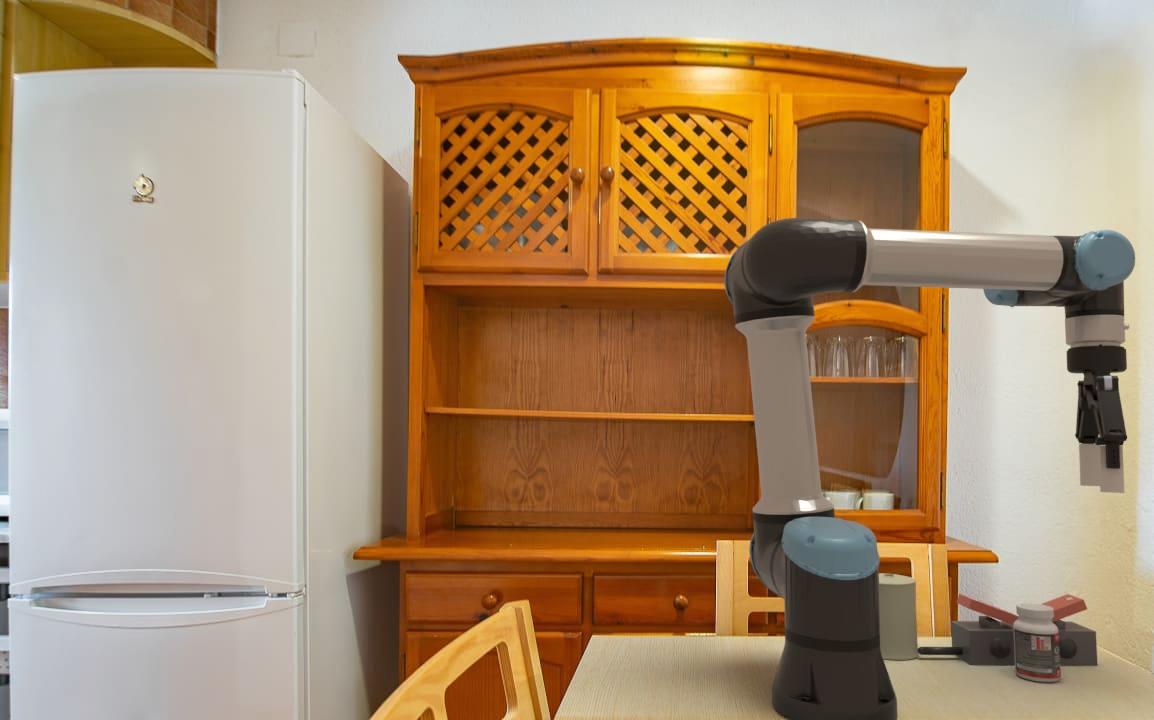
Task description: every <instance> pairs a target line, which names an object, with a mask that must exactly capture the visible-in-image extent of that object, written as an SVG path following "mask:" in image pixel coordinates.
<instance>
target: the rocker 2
mask: <svg viewBox="0 0 1154 720" xmlns="http://www.w3.org/2000/svg"><path fill="white" fill-rule="evenodd" d="M1041 604H1042V605H1047V606H1050V607H1052V608H1053V611H1054V617H1053V618H1052V622H1054V621H1057V620H1062V619H1064V618H1067V617H1070V616H1072V615H1075V614H1078V613H1081V612H1084V611H1086V610H1088V607H1087V605H1086V602H1085V600H1084V599H1082V598H1080V597H1077V596H1074V595H1071V594H1069V593H1067V594H1064V595H1061V596H1059V597H1056V598H1053V599H1051V600H1048V601H1045V602H1042V603H1041Z"/></svg>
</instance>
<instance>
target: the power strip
mask: <svg viewBox="0 0 1154 720" xmlns="http://www.w3.org/2000/svg"><path fill="white" fill-rule="evenodd" d="M1052 623H1054V624H1055V625H1056V626H1057V628H1058V632H1059V652H1060V666H1098V645H1097V644H1098V643H1097V631H1096V630H1094V629H1091V628H1088V627H1086V626H1083V625H1082V624H1078V623H1077V622H1074V621H1066V620H1065V621H1064V620H1062V619H1060V620H1057V621H1054V622H1052ZM950 627H951V646H918V653H919V655H922V656H956V657H957V658H958V659H960V658H961V660H962V661H964V662H965V663H967V664H968V665H970V666H1015V659H1014V635H1013V625H1011V624H1009V623H1006V622H1003V621H1001V620H998V619H995V618H992V617H990V616H987V615H978V620H951V621H950Z"/></svg>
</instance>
